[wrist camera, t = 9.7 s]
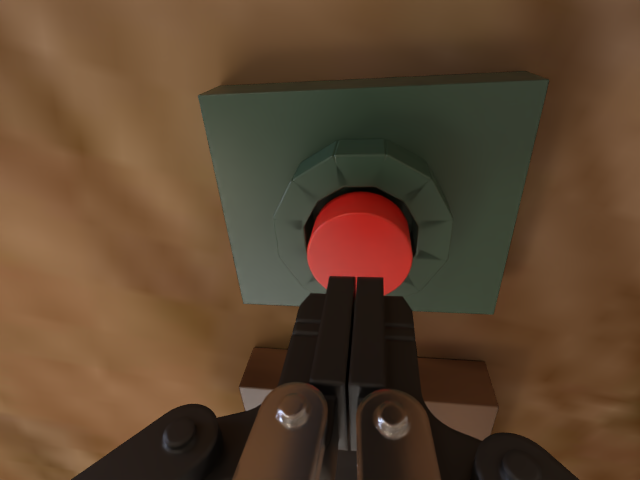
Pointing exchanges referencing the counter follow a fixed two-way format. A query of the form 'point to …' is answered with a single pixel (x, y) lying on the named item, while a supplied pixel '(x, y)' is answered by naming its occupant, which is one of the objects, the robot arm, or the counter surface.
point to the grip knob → (346, 464)
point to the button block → (376, 175)
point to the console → (435, 378)
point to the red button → (361, 240)
